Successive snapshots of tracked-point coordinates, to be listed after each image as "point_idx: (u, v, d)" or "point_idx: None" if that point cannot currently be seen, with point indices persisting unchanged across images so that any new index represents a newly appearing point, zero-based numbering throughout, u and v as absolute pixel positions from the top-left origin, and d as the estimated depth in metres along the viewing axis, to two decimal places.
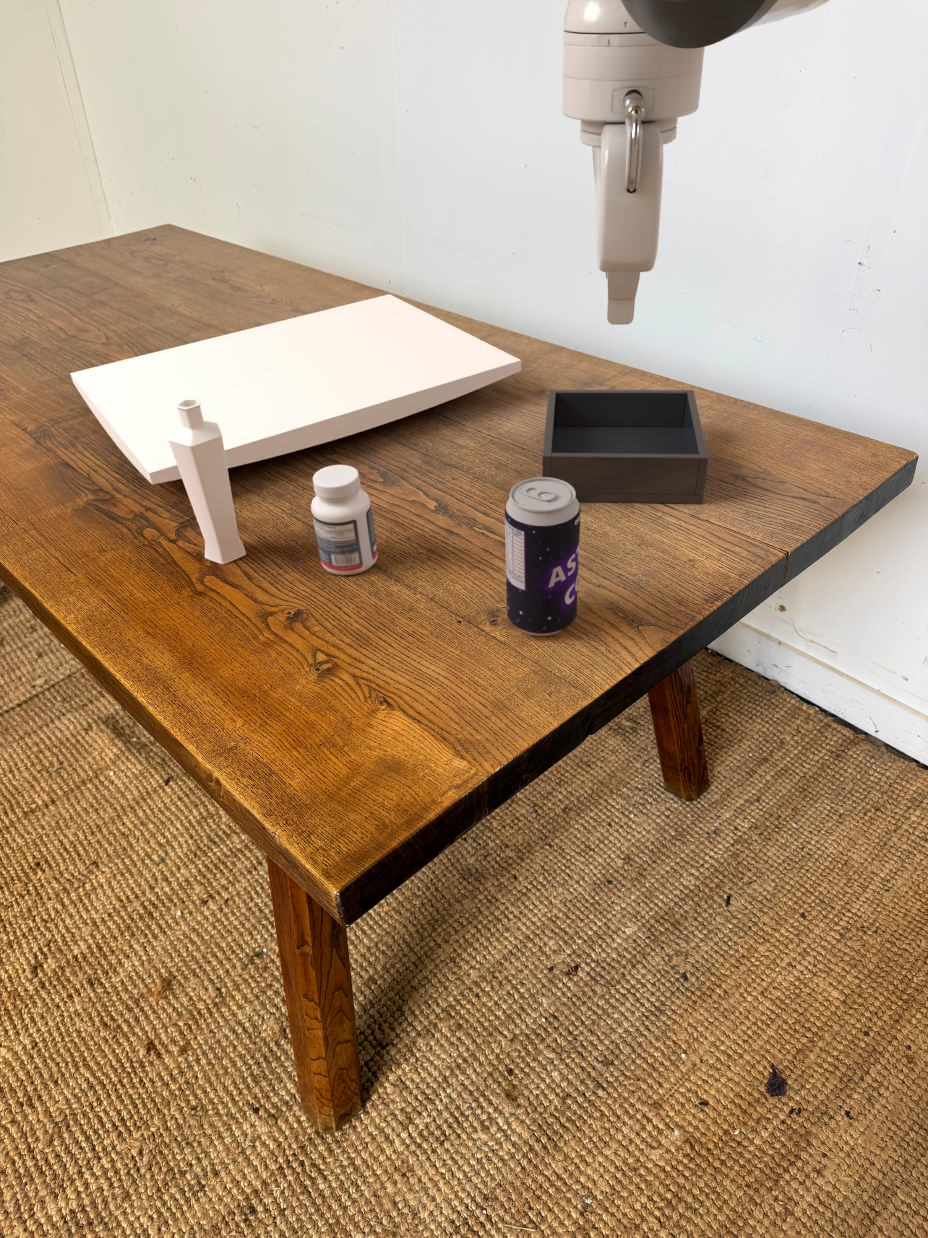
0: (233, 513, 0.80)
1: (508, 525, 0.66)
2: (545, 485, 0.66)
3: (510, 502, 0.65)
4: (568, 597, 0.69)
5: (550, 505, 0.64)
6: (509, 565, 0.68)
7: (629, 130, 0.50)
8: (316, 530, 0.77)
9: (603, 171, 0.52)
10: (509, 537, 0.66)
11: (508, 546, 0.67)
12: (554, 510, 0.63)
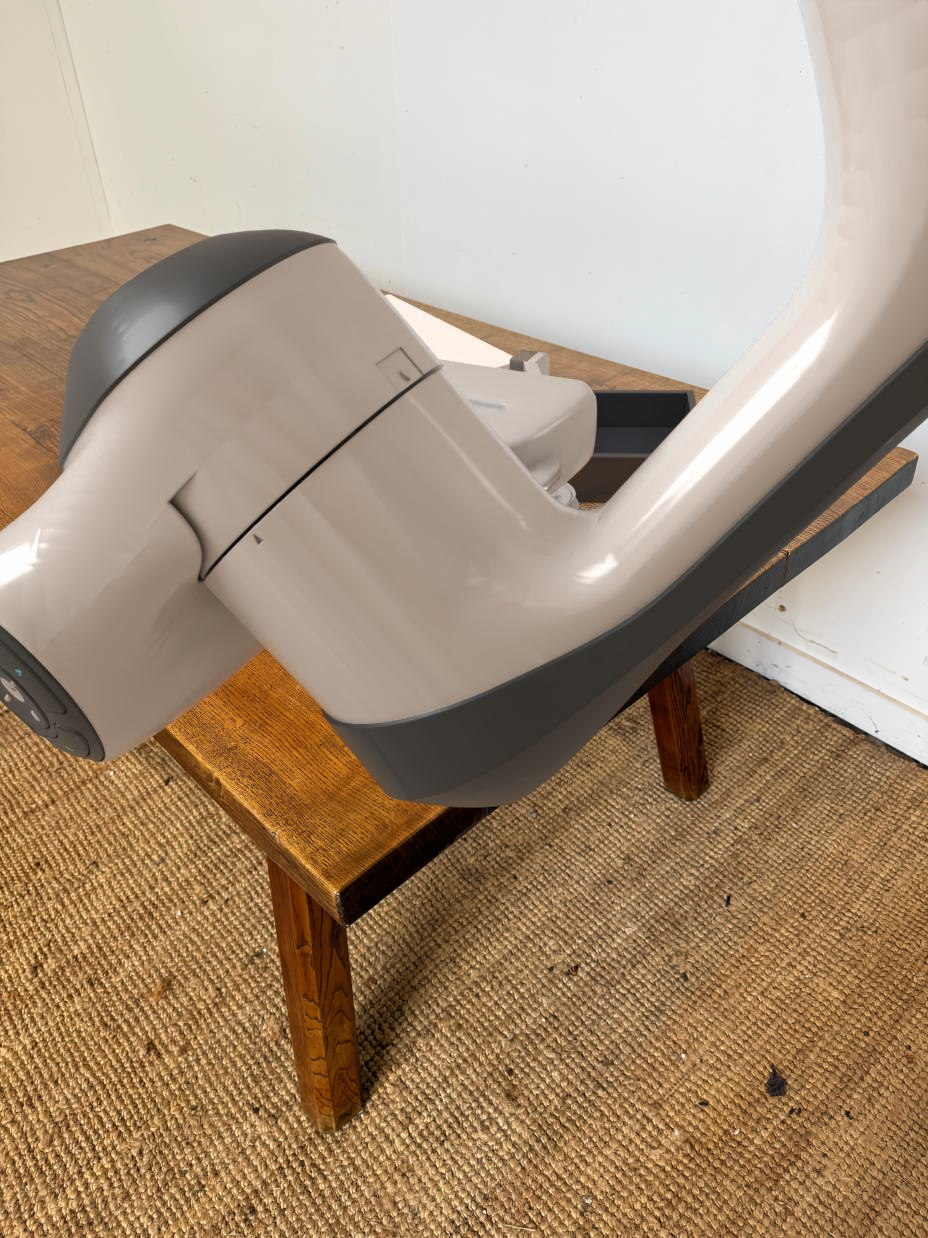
0: None
1: None
2: None
3: None
4: None
5: None
6: None
7: None
8: None
9: None
10: None
11: None
12: None
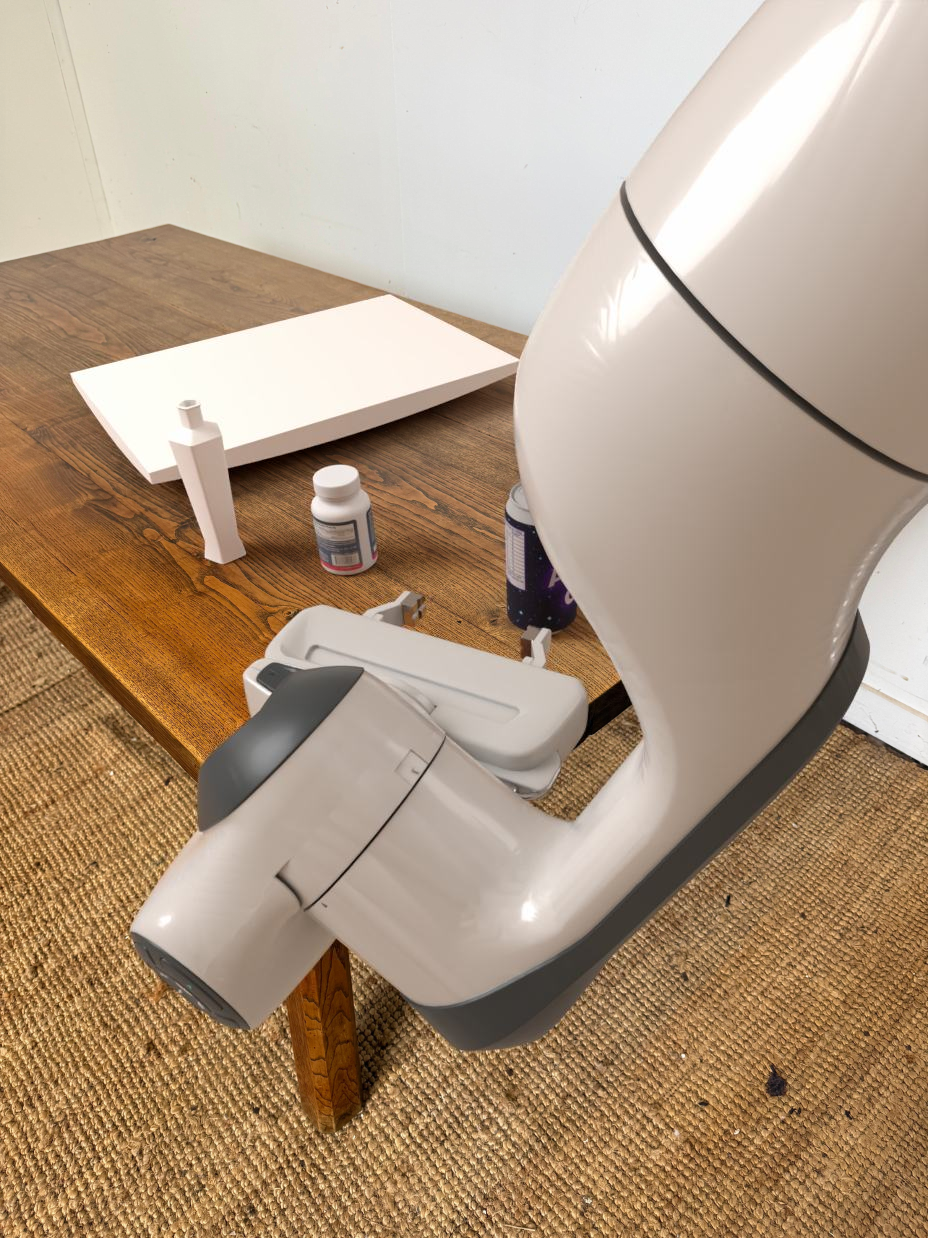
0: (233, 513, 0.80)
1: (508, 525, 0.66)
2: None
3: (510, 502, 0.65)
4: (568, 597, 0.69)
5: None
6: (509, 565, 0.68)
7: (538, 798, 0.48)
8: (316, 530, 0.77)
9: None
10: (509, 537, 0.66)
11: (508, 546, 0.67)
12: None
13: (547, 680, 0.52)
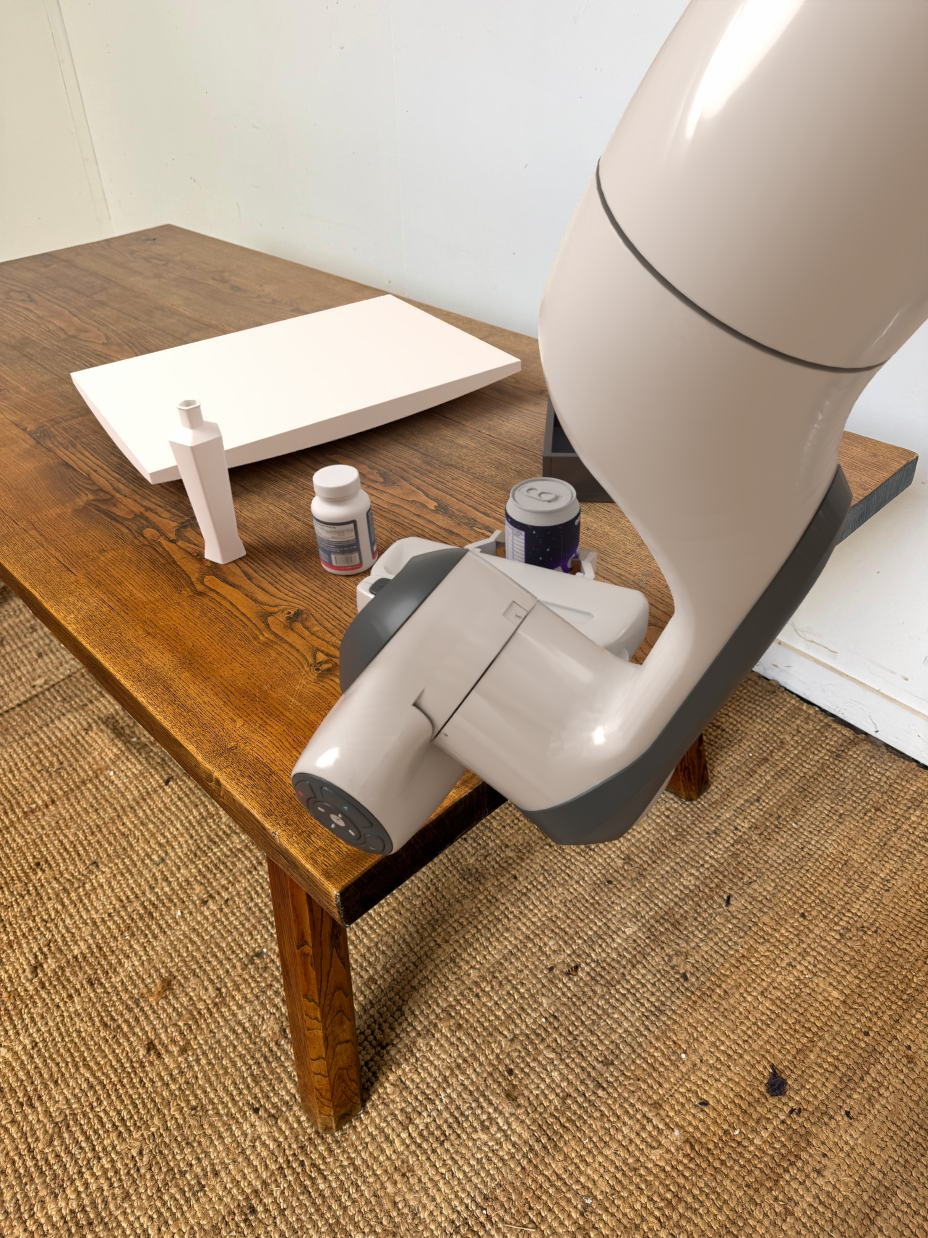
0: (233, 513, 0.80)
1: (508, 525, 0.66)
2: (545, 485, 0.66)
3: (510, 502, 0.65)
4: None
5: (550, 505, 0.64)
6: None
7: None
8: (316, 530, 0.77)
9: None
10: (509, 537, 0.66)
11: (508, 546, 0.67)
12: (554, 510, 0.63)
13: (614, 592, 0.61)
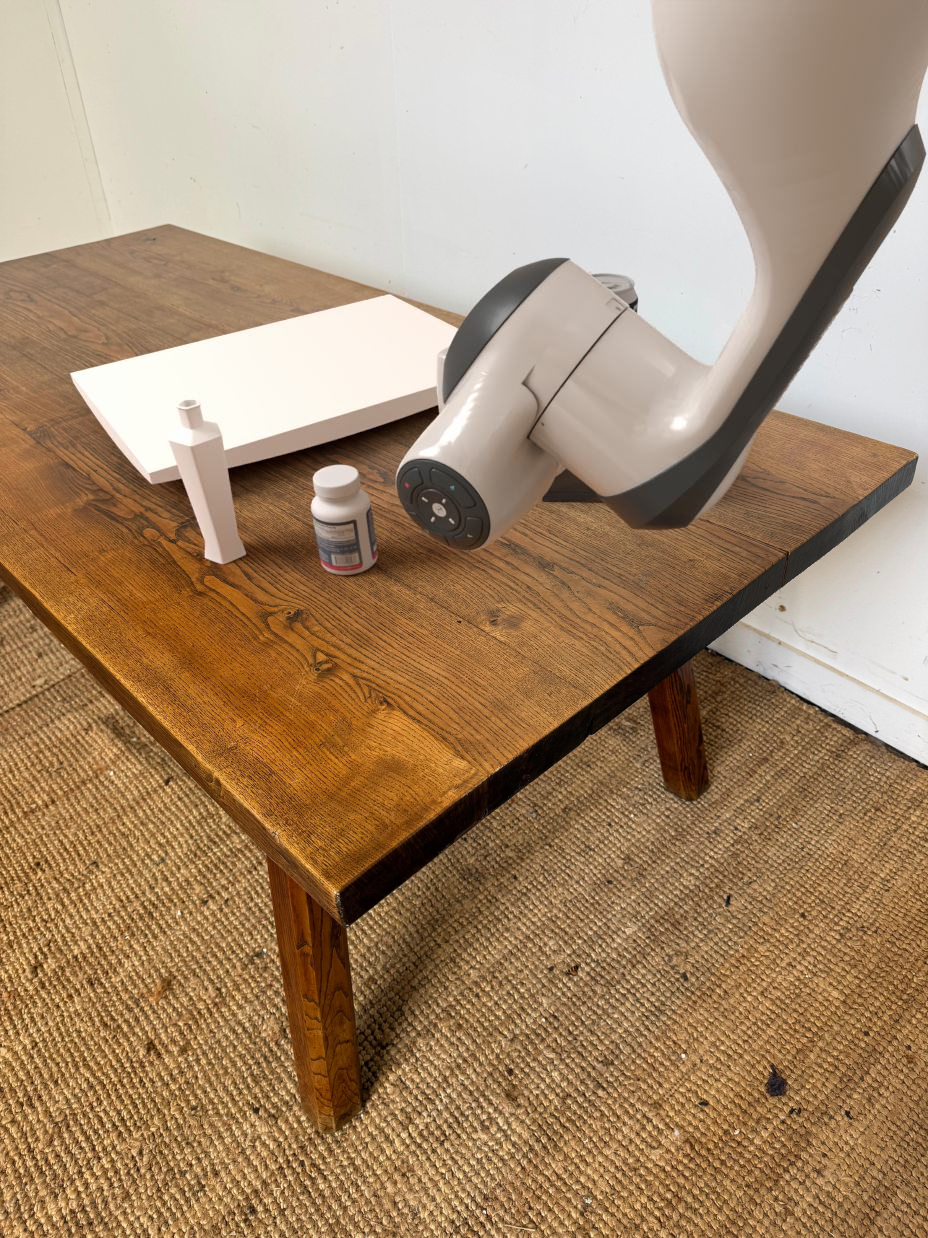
0: (233, 513, 0.80)
1: None
2: (605, 278, 0.72)
3: None
4: None
5: (611, 290, 0.70)
6: None
7: None
8: (316, 530, 0.77)
9: None
10: None
11: None
12: (616, 292, 0.69)
13: None
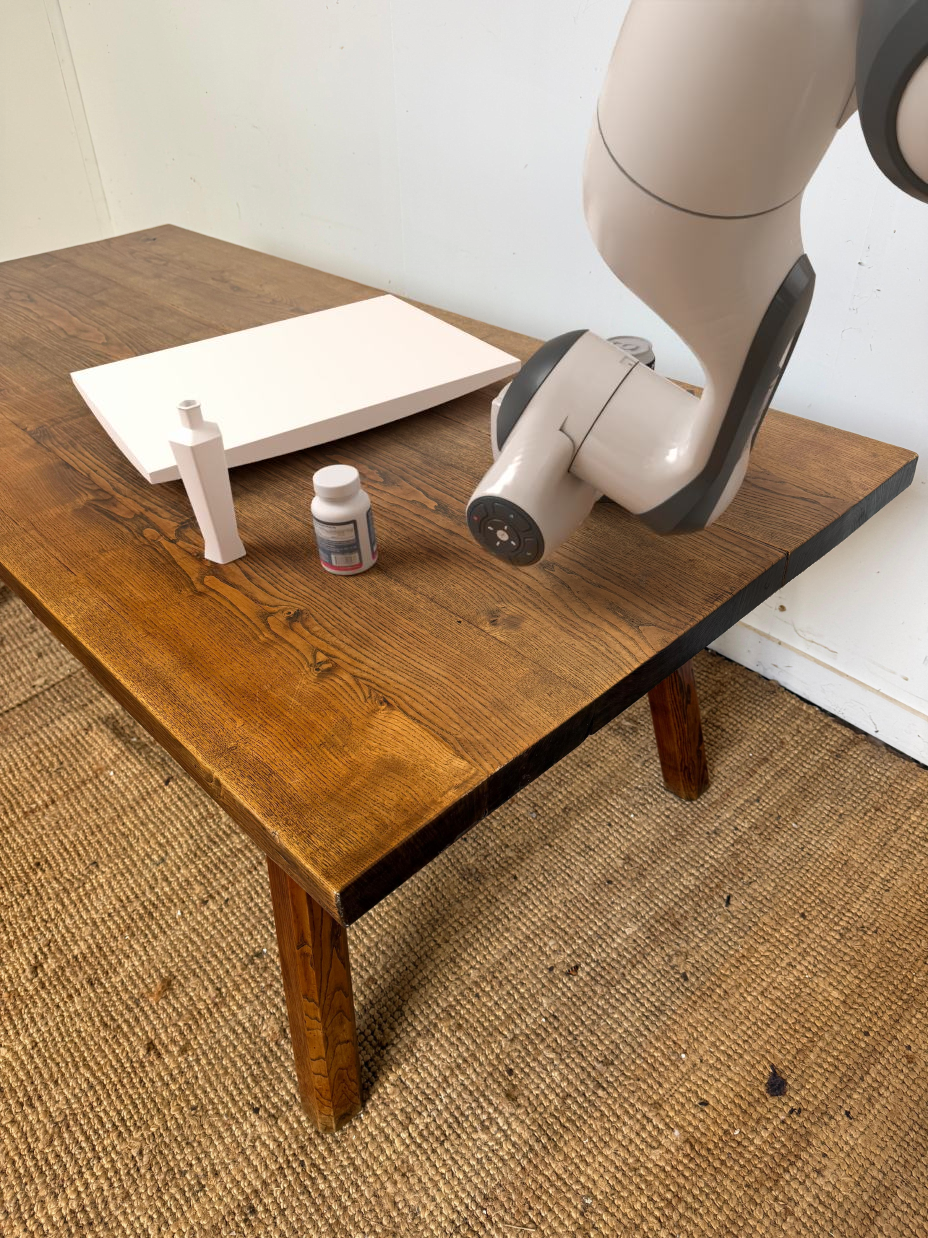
0: (233, 513, 0.80)
1: None
2: (627, 340, 0.86)
3: None
4: None
5: (633, 352, 0.84)
6: None
7: None
8: (316, 530, 0.77)
9: None
10: None
11: None
12: (637, 354, 0.83)
13: None
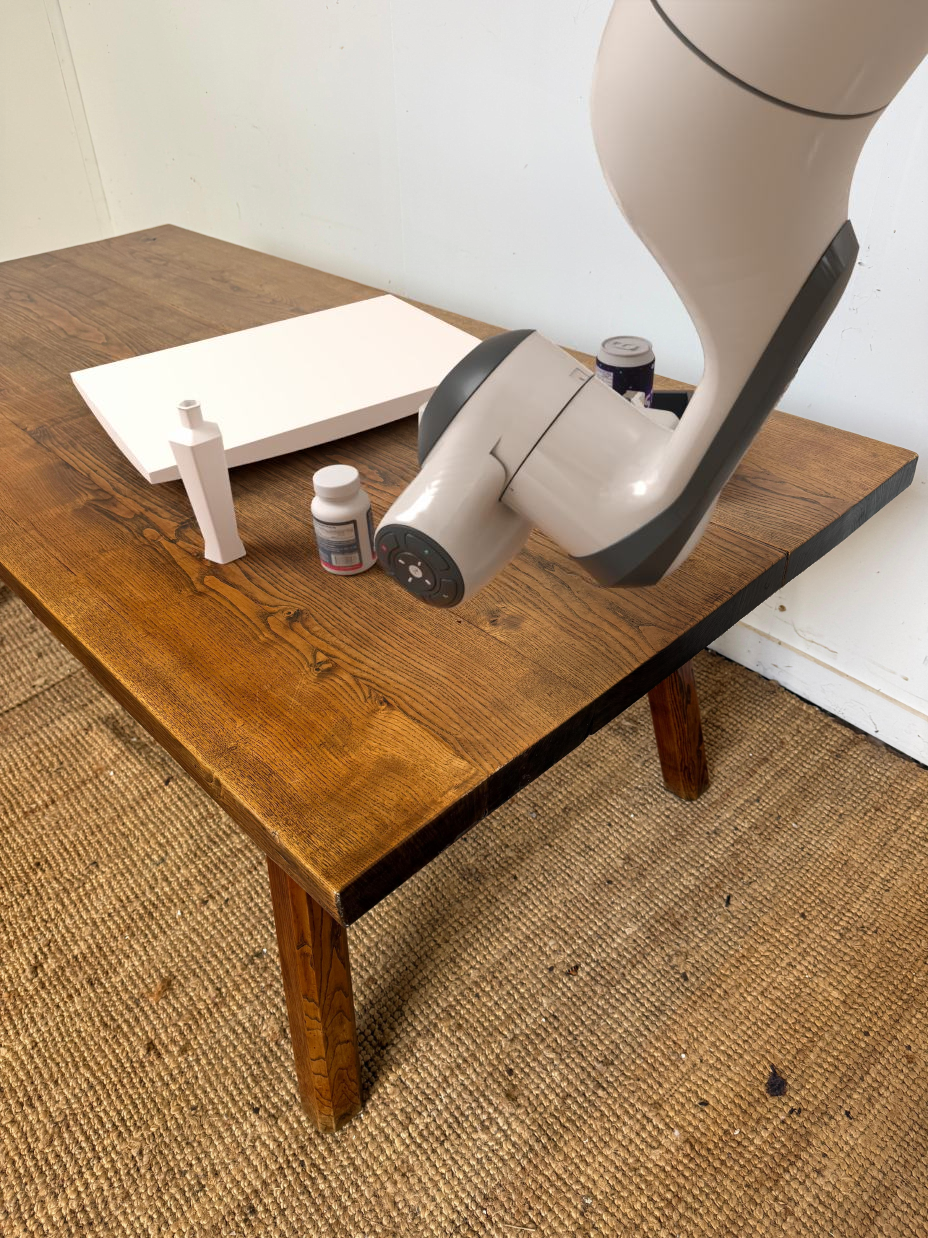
0: (233, 513, 0.80)
1: (599, 370, 0.85)
2: (627, 340, 0.86)
3: (601, 351, 0.85)
4: None
5: (633, 352, 0.84)
6: None
7: None
8: (316, 530, 0.77)
9: None
10: None
11: None
12: (637, 354, 0.83)
13: (649, 412, 0.68)
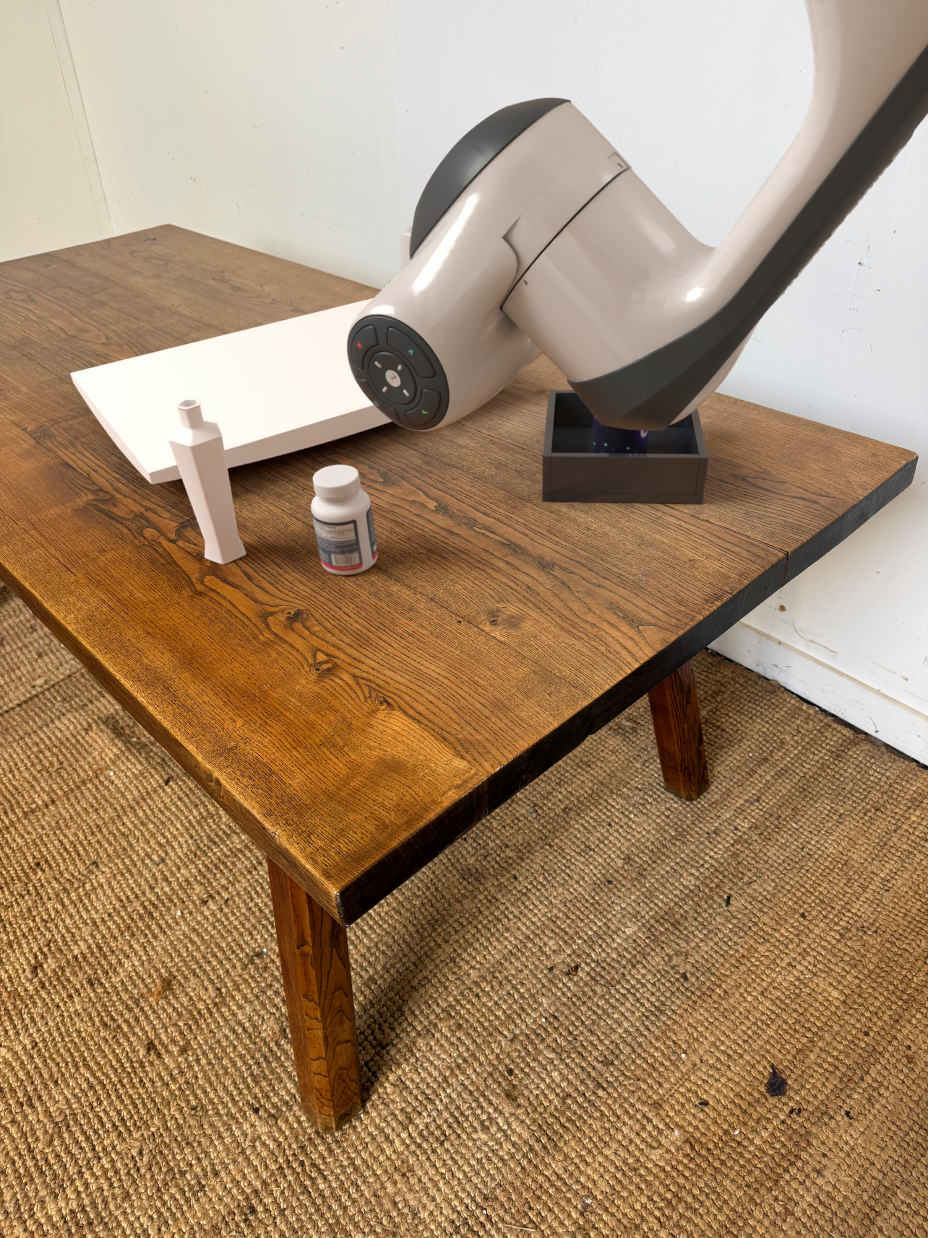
0: (233, 513, 0.80)
1: None
2: None
3: None
4: (643, 431, 0.88)
5: None
6: None
7: None
8: (316, 530, 0.77)
9: None
10: None
11: None
12: None
13: None
